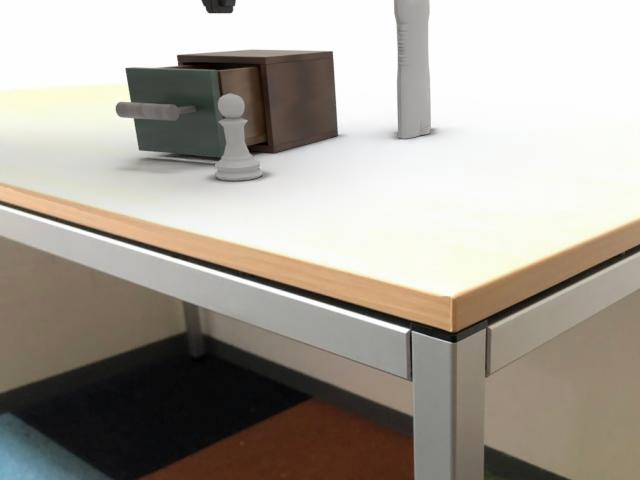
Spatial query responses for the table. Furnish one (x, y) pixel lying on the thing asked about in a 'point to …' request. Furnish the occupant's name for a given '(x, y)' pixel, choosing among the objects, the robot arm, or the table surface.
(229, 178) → the chess piece
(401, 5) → the tall pale column
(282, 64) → the cabinet
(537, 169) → the table surface
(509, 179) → the table surface
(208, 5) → the robot arm
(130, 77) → the drawer
